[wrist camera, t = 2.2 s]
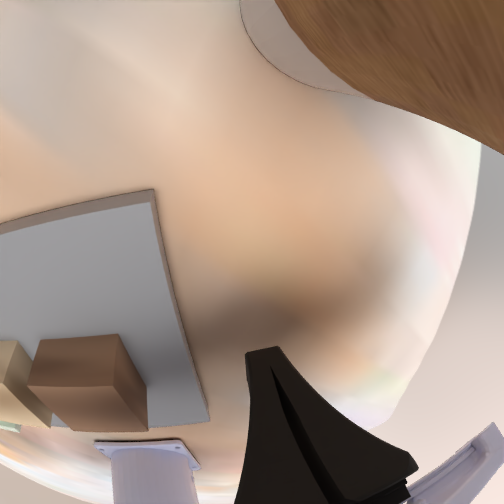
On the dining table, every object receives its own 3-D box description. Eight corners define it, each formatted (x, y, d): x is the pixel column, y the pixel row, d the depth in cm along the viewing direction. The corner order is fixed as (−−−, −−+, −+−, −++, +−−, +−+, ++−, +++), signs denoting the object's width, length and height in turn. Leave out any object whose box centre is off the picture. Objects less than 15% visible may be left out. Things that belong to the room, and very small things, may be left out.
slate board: (207, 405, 16) (210, 421, 15) (24, 409, 13) (21, 422, 12) (153, 189, 9) (149, 202, 8) (-83, 255, 6) (-94, 267, 5)
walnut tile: (146, 387, 12) (148, 431, 10) (78, 390, 11) (73, 430, 9) (118, 333, 10) (112, 385, 8) (40, 339, 9) (26, 385, 7)
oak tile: (56, 389, 11) (50, 428, 9) (9, 386, 10) (0, 420, 8) (17, 340, 9) (2, 383, 7) (-29, 340, 8) (-44, 376, 6)
